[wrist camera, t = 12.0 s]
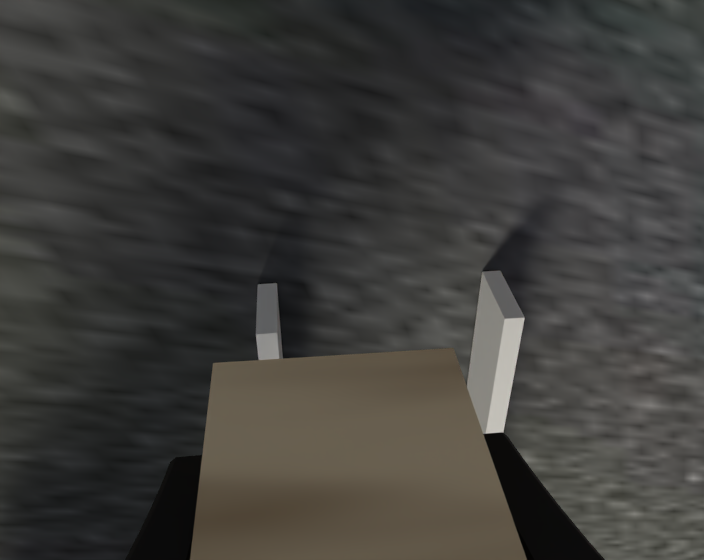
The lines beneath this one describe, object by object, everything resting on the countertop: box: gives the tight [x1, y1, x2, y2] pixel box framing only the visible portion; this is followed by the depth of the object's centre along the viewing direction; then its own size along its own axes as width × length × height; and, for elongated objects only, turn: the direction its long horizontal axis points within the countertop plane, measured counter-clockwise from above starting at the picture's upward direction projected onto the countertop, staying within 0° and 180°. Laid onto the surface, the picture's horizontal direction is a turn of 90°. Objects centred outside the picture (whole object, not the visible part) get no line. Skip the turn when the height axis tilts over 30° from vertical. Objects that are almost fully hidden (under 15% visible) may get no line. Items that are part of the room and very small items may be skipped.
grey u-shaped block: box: [256, 271, 525, 434], centre depth 23 cm, size 13×8×2 cm, turn 0°
